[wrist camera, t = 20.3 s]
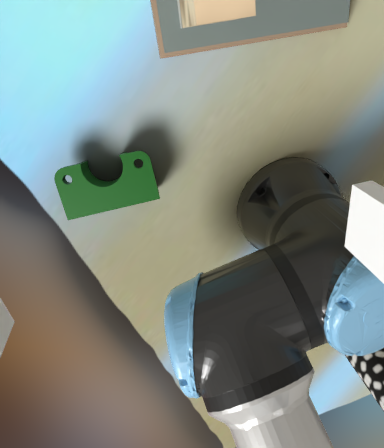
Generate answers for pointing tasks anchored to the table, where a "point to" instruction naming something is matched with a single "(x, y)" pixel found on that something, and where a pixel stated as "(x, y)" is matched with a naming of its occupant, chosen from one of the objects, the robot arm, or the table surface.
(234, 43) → the slate board
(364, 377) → the white-spotted black cylinder
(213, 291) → the robot arm
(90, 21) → the table surface
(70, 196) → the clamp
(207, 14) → the wooden block
